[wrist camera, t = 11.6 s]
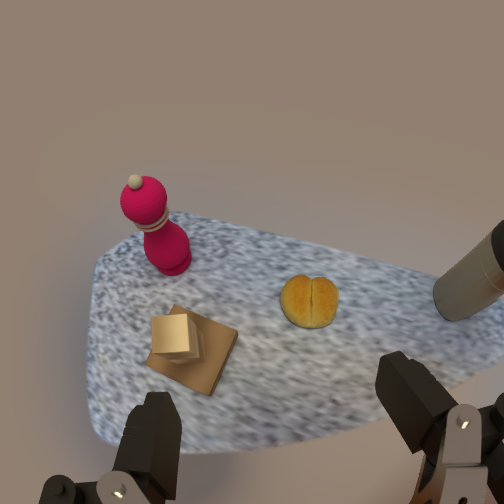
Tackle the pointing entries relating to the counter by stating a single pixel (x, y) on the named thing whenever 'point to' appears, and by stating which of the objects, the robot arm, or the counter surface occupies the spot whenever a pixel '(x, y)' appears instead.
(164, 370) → the walnut block
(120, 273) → the counter surface
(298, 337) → the counter surface
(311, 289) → the bread roll
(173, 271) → the pepper mill
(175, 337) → the beech block
